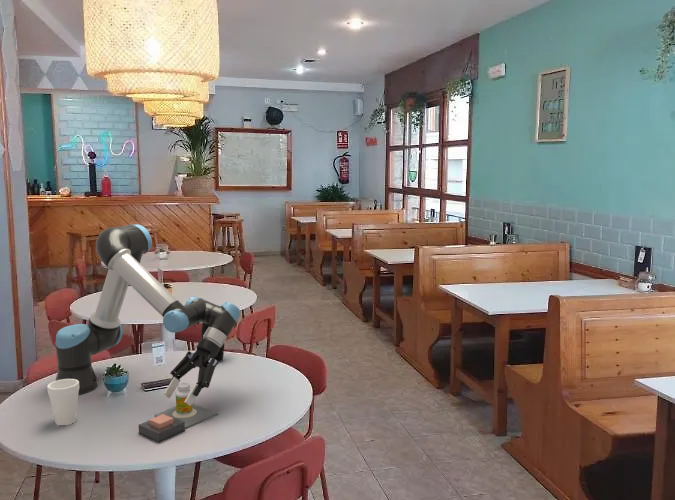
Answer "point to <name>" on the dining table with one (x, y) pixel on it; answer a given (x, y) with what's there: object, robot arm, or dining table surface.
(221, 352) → the portable speaker
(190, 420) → the slate board
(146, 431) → the button housing
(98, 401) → the dining table surface
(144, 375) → the dining table surface
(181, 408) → the supplement bottle
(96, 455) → the dining table surface
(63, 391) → the foam cup
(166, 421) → the button
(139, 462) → the dining table surface
